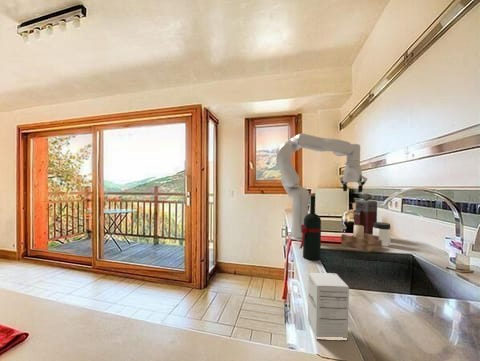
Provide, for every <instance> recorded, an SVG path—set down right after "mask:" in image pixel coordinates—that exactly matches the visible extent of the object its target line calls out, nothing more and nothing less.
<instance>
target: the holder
mask: <svg viewBox="0 0 480 361" xmlns="http://www.w3.org/2000/svg"><path fill="white" fill-rule="evenodd" d="M340 236H341V240H340V241H341V243H340V245H341V246H345V247H349V248H351V249H356V250H360V251H364V252H367V253H371V252H374V251H378V250H379V249H381V248H382V247H383V246H382V240H379V236H376V235H371V234H366V233H364V238H359V237H355V236H354V230H353V232H352V235H349V234H345V233H342V234H341V235H340Z"/></svg>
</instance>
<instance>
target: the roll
mask: <svg viewBox="0 0 480 361" xmlns="http://www.w3.org/2000/svg"><path fill="white" fill-rule="evenodd" d="M353 231H354V236H355V237H359V238H364V226H361V225H354V224H353Z"/></svg>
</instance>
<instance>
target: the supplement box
mask: <svg viewBox="0 0 480 361" xmlns="http://www.w3.org/2000/svg"><path fill="white" fill-rule="evenodd" d="M349 296H350V286H348V284H347V283H346V282H345V281H344V279H342V278H341V277H340V276H339V275H338V273H334V272H333V273H331V272H309V273H308V296H307V298H308V299H307V300H308V301H307V321H308V323H309V325H311V326H310V328H311V327H312V328H311V330H312V329H313V330H312V332H313V331H314V332H313V334H314V333H315V335H316V336H317V337H343V338H348V339H349V305H350V303H349V299H350V297H349ZM315 335H314V336H315Z"/></svg>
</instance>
